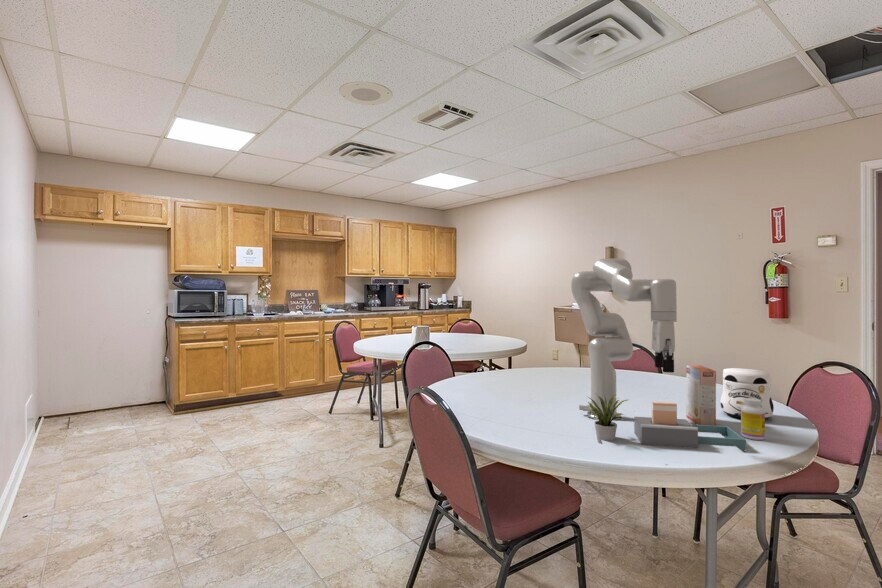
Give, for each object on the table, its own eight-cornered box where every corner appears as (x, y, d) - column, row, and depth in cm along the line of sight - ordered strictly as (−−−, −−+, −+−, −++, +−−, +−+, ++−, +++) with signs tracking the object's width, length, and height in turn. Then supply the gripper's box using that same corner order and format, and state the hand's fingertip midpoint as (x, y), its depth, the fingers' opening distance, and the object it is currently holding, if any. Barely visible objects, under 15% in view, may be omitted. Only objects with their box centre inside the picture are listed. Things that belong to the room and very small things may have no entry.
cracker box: (717, 428, 160) (716, 370, 160) (699, 427, 161) (698, 370, 161) (702, 417, 174) (702, 364, 174) (685, 416, 175) (685, 364, 175)
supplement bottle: (766, 441, 145) (765, 402, 145) (741, 438, 148) (741, 400, 148) (764, 436, 151) (763, 398, 151) (740, 433, 154) (740, 396, 154)
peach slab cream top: (653, 440, 143) (653, 403, 143) (652, 438, 145) (651, 401, 145) (677, 441, 141) (676, 404, 141) (675, 439, 143) (675, 402, 143)
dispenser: (641, 449, 139) (641, 425, 139) (634, 437, 151) (634, 414, 151) (698, 452, 135) (697, 428, 135) (685, 440, 147) (685, 417, 147)
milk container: (737, 422, 166) (737, 375, 166) (711, 410, 184) (711, 367, 184) (784, 423, 166) (784, 375, 166) (754, 410, 183) (754, 367, 183)
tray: (696, 447, 140) (696, 436, 140) (682, 433, 154) (682, 423, 154) (746, 450, 137) (745, 439, 137) (727, 436, 150) (727, 426, 150)
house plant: (628, 436, 151) (628, 389, 151) (636, 450, 138) (636, 398, 138) (585, 434, 154) (584, 387, 154) (589, 447, 141) (588, 396, 141)
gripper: (645, 315, 152) (645, 365, 152) (657, 318, 136) (658, 373, 135) (668, 315, 151) (669, 365, 151) (684, 318, 134) (685, 374, 134)
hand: (664, 369), depth 143 cm, fingers open, 9 cm apart
